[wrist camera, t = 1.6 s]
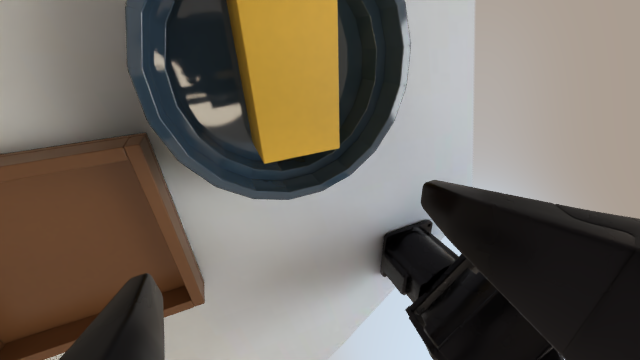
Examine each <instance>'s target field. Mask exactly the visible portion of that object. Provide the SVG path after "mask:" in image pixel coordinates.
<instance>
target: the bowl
mask: <svg viewBox="0 0 640 360" xmlns="http://www.w3.org/2000/svg"><path fill="white" fill-rule="evenodd" d="M337 6H338V74H339V141H340V148H338V149H333V150H328V151H324V152H319V153H314V154H309V155H304V156H300V157H295V158H290V159H285V160H280V161H276V162H271V163H266V164H264V163H263V161H262V159H261V157H260V155H259V153H258V151H257V150H256V148H255V146H254V144H253V142H252V136H251V131H250V126H249V120H248V115H247V109H246V104H245V99H244V93H243V88H242V82H241V77H240V72H239V66H238V61H237V56H236V50H235V45H234V39H233V34H232V29H231V23H230V18H229V13H228V7H227V2H226V0H127V1H126V6H125V19H126V52H127V67H128V72H129V75H130V77H131V80H132V83H133V85H134V88H135V90H136V93H137V96H138V98H139V101H140V104H141V106H142V109H143V112H144V114H145V117H146V120H147V121H148V123H149V125H150V126H151V127H152V129H153V130H154V131H155V132H156V134H157V135H158V136H159V137H160V139H161V140H162V141H163V142H164V144H165V145H166V146H167V147H168V149H169V150H170V151H171V152H172V154H173V155H174V156H175V158H176V159H177V160H178V161H180V163H182V164H183V165H185V166H186V167H187V168H189V169H190V170H192V171H193V172H195V173H196V174H198V175H199V176H201V177H202V178H203V179H205V180H206V181H208V182H209V183H211V184H212V185H214V186H216V187H218V188H221V189H224V190H227V191H230V192H233V193H236V194H240V195H243V196H246V197H249V198H252V199H275V200H289V199H294V198H298V197H301V196H305V195H309V194H313V193H317V192H321V191H323V190H325V189H327V188H328V187H330V186H332V185H334V184H336V183H337V182H339V181H341V180H343V179H344V178H346V177H348V176H350V174H352V173H353V172H354V171H355V170H356V169H357V168H358V167H359V166H361V165H362V164H363V163H364V162H365V161H366V160H367V159H368V158H369V157H370V156H371V155H372V154H373V153H374V152H375V151H376V149H377V148H378V146H379V145H380V143H381V141H382V140H383V138H384V137H385V135H386V134H387V132H388V130H389V129H390V127H391V126H392V124H393V123H394V121H395V118H396V115H397V112H398V109H399V106H400V103H401V100H402V98H403V95H404V92H405V89H406V85H407V78H408V68H409V59H410V49H411V42H410V34H409V27H408V19H407V12H406V4H405V1H404V0H337Z"/></svg>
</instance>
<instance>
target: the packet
mask: <svg viewBox="0 0 640 360" xmlns="http://www.w3.org/2000/svg"><path fill="white" fill-rule="evenodd" d="M226 2H227V7H228V13H229V18H230V23H231V29H232V34H233V39H234V45H235V50H236V56H237V61H238V66H239V72H240V77H241V82H242V88H243V93H244V99H245V104H246V109H247V115H248V120H249V126H250V131H251V136H252V142H253V144H254V146H255V148H256V150H257V151H258V153H259V155H260V157H261V159H262V161H263V163H264V164H266V163H271V162H276V161H280V160H285V159H290V158H295V157H300V156H304V155H309V154H314V153H319V152H324V151H328V150H333V149H338V148H340V141H339V74H338V6H337V0H226Z"/></svg>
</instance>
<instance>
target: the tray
mask: <svg viewBox="0 0 640 360" xmlns="http://www.w3.org/2000/svg"><path fill="white" fill-rule="evenodd" d="M144 273H149V274H150V275H151V276H152V278H153V279H154V281H155V283H156V284H157V286H158V288H159V289H160V291H161V293H162V296H163V312H164V317H167V316H170V315H173V314H176V313H178V312H181V311H184V310H187V309H190V308H193V307H194V306H198V305H201V304H204V302H205V296H204V280H203V278H202V275H201V272H200V270H199V267H198V265H197V262H196V259H195V257H194V254H193V252H192V249H191V247H190V244H189V241H188V239H187V236H186V234H185V231H184V229H183V226H182V223H181V221H180V218H179V216H178V213H177V211H176V208H175V205H174V203H173V200H172V198H171V195H170V193H169V190H168V187H167V185H166V182H165V180H164V177H163V174H162V172H161V169H160V167H159V164H158V162H157V159H156V156H155V154H154V151H153V149H152V146H151V144H150V141H149V138H148V136H147V133H139V134H133V135H126V136H120V137H113V138H106V139H100V140H93V141H86V142H80V143H73V144H66V145H60V146H53V147H46V148H40V149H33V150H26V151H20V152H13V153H6V154H0V360H44V359H47V358H50V357H53V356H55V355H58V354H61V353H64V352H66V351H67V350H68V349H69V348H70V347H71V345H72V344H73V343H74V342H75V341H76V340H77V338H78V337H79V336H80V335H81V334H82V333H83V332H84V330H85V329H86V328H87V327H88V326H89V325H90V324H91V322H92V321H93V320H94V319H95V318H96V317H97V315H98V314H99V313H100V312H101V311H102V310H103V309H104V307H105V306H106V305H107V304H108V303H109V302H110V301H111V299H112V298H113V297H114V296H115V295H116V294H117V292H118V291H119V290H120V289H121V288H122V287H123V286H124V284H125V283H126V282H127V281H128V280H129V279H130V278H132V277H135V276H138V275H141V274H144Z"/></svg>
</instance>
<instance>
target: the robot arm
mask: <svg viewBox="0 0 640 360" xmlns="http://www.w3.org/2000/svg"><path fill="white" fill-rule="evenodd" d="M421 205H422V207H423V209H424V210H425V211H426V212H427V214H428V215H429V216H430V217H431V219H432V220H433V221H434V222H435V224H436V225H437V226H438V227H439V228H440V230H441V231H442V232H443V233H444V235H445V236H446V237H447V238H448V239H449V240H450V241H451V243H453V245H454V246H455V247H456V248H457V249H458V250H459V251H460V252H461V253H462V254H461V255H460V256H457V255H456V254H455V253H454V252H453V251H451V250H450V249H449V248H448V247H447V246H445V245H444V244H443V243H442V242H441V241H439V240H438V239H437V238H436V237H435V236H433V235H432V234H431V229H432V222H431V221H430V220H426V221H423V222H420V223H417V224H414V225H412V226H409V227H406V228H403V229H400V230H397V231H394V232H391V233H388V234H386V235H385V236H384V242H383V253H382V264H381V274H382V276H383V277H386V276H387V277H388V278H389V279H390V280H391V281H392V283H393V284H394V285H395V286H396V288H397V289H398V290H399V291H400V293H401V294H403V295H406V294H407V296H408V297H409V298H410V299H411V301H412V302H413V304H412V305H411V306H409V307H408V308H407V309H406V312H407V313H408V315H409V319H410V320H411V322H412V323H413V325H414V327H415V328H416V330H417V332H418V333H419V335H420V336H421V338H422V339H423V341H424V343H425V344H426V347H427V349H428V351H429V353H430V355H431V357H432V358H433V360H564V359H565V360H640V219H637V218H631V217H624V216H618V215H613V214H607V213H601V212H595V211H590V210H584V209H579V208H574V207H569V206H563V205H559V204H553V203H548V202H543V201H538V200H533V199H528V198H523V197H518V196H513V195H508V194H502V193H498V192H493V191H488V190H483V189H478V188H473V187H468V186H463V185H458V184H453V183H448V182H443V181H438V180H432V181H429V182H426V183H425V184H424V185H423V189H422V197H421ZM59 360H164V312H163V296H162V293H161V291H160V289H159V288H158V286H157V284H156V283H155V281H154V279H153V278H152V276H151V275H150V274H149V273H144V274H141V275H138V276H135V277H132V278H130V279H129V280H128V281H127V282H126V283H125V284H124V286H123V287H122V288H121V289H120V290H119V291H118V292H117V294H116V295H115V296H114V297H113V298H112V299H111V301H110V302H109V303H108V304H107V305H106V306H105V307H104V309H103V310H102V311H101V312H100V313H99V314H98V315H97V317H96V318H95V319H94V320H93V321H92V322H91V324H90V325H89V326H88V327H87V328H86V329H85V330H84V332H83V333H82V334H81V335H80V336H79V337H78V338H77V340H76V341H75V342H74V343H73V344H72V345H71V347H70V348H69V349H68V350H67V351H66V352H65V353H64V355H63V356H62V357H61V358H60V359H59Z"/></svg>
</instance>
